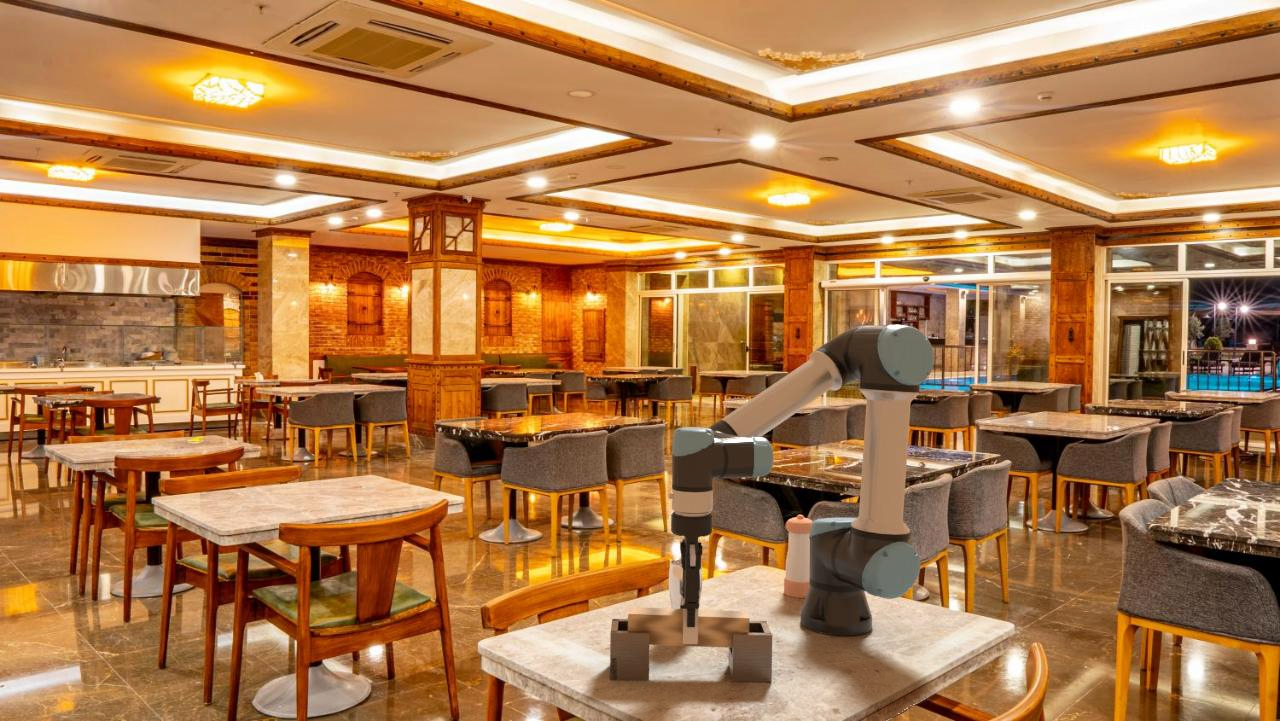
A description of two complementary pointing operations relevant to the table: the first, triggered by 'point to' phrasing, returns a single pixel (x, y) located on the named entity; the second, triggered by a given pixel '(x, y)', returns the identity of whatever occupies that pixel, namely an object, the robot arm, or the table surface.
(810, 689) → the table surface
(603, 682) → the table surface
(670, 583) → the shiny metal tumbler
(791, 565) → the pepper shaker
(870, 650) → the table surface
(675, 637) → the rail
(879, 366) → the robot arm
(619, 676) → the brackets
